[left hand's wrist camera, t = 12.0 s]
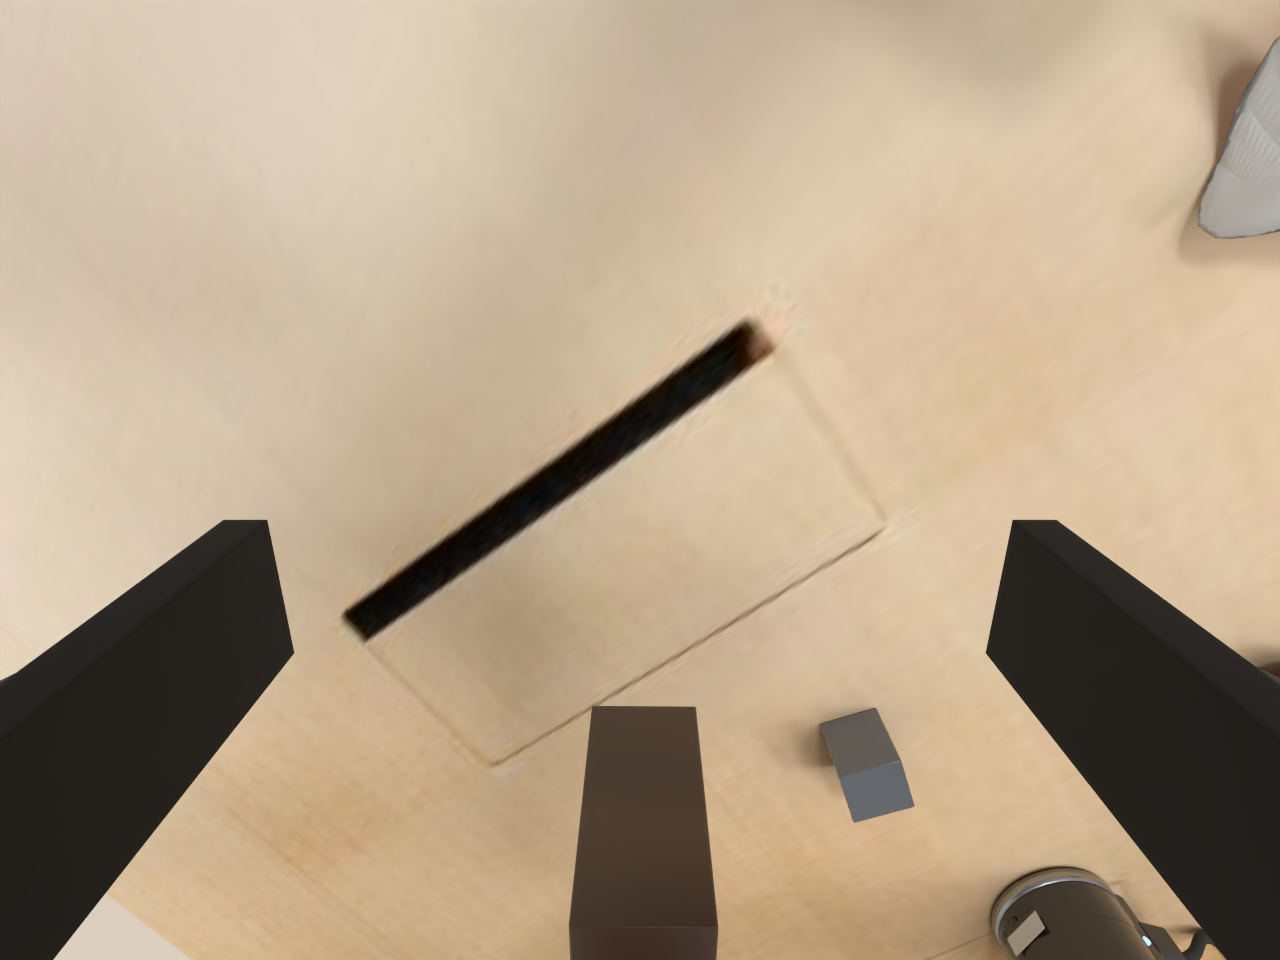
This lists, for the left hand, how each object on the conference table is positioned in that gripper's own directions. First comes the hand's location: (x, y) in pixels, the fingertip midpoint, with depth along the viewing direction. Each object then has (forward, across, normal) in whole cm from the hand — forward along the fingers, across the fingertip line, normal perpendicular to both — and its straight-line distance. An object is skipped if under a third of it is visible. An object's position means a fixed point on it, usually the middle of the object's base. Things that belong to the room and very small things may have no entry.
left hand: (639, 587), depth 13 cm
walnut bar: (+11, 0, -24) cm, 26 cm away
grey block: (+29, +15, -28) cm, 43 cm away
